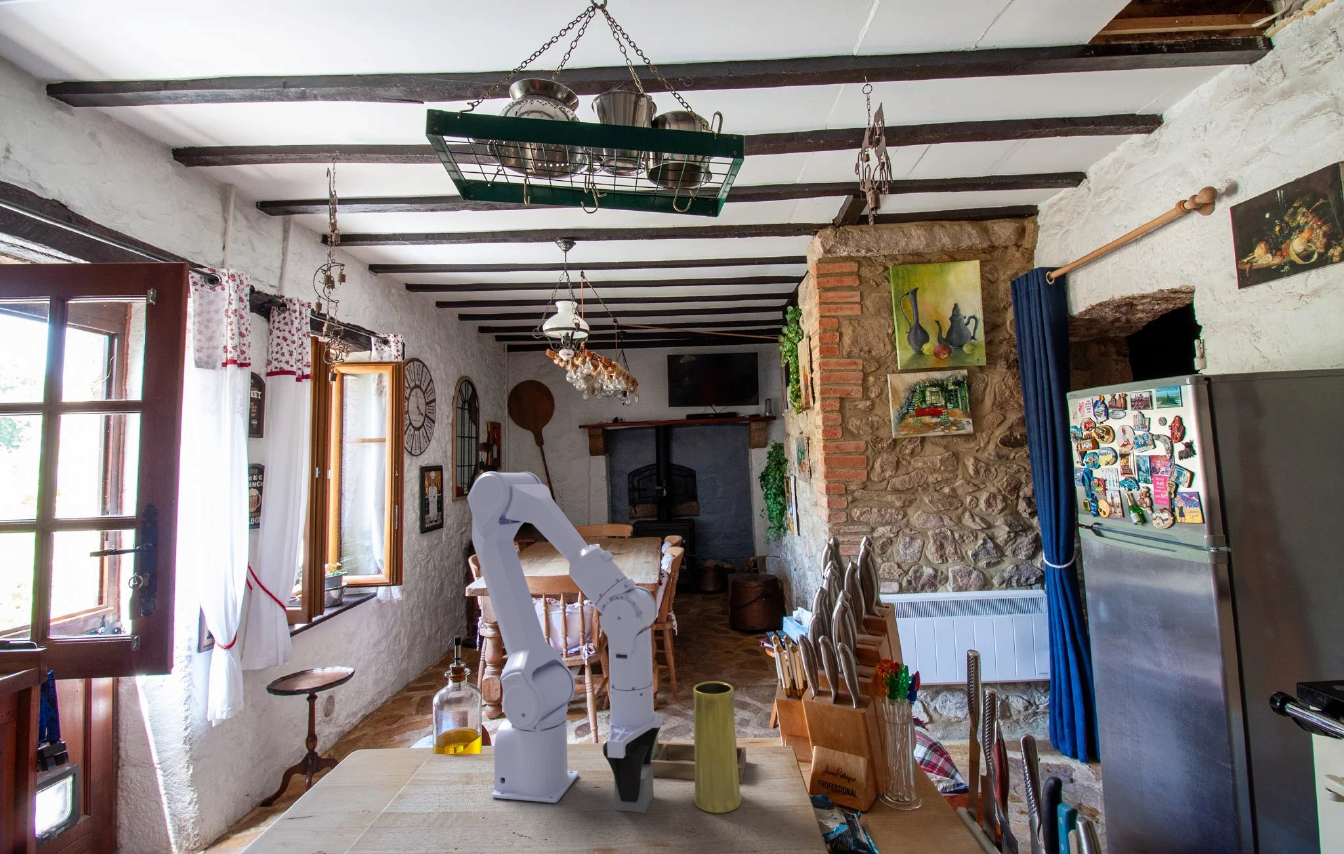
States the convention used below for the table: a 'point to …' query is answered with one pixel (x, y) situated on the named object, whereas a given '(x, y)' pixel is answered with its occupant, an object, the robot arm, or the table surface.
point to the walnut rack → (683, 768)
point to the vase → (715, 748)
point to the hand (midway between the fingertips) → (634, 791)
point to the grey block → (644, 793)
